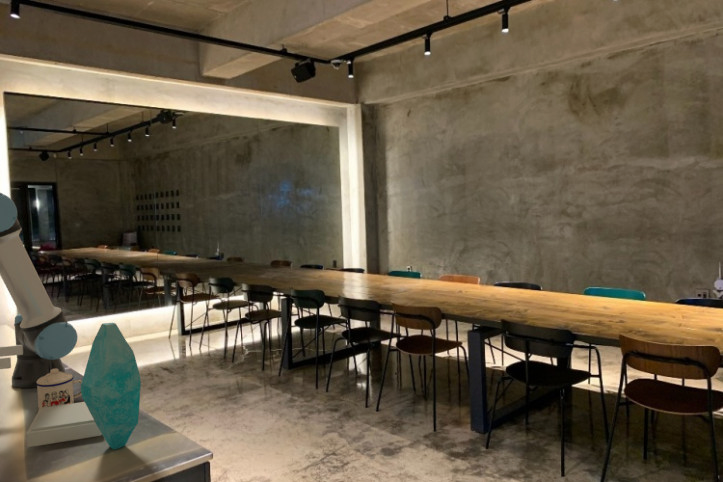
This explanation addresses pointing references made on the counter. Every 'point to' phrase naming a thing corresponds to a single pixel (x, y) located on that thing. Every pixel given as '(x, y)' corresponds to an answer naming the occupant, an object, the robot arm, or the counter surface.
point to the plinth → (62, 424)
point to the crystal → (112, 385)
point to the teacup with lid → (56, 389)
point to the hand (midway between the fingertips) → (17, 355)
